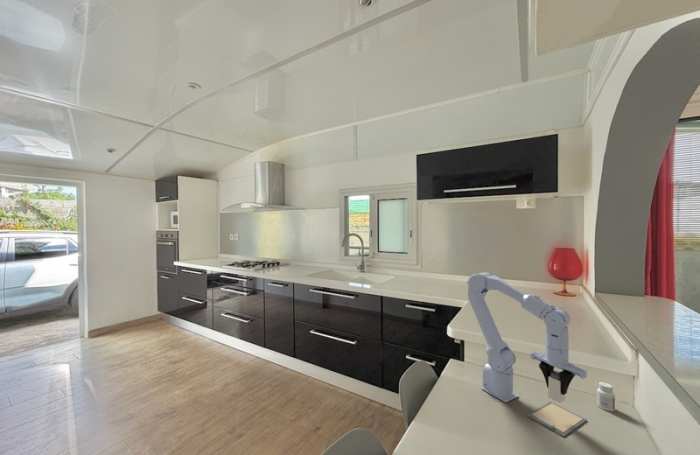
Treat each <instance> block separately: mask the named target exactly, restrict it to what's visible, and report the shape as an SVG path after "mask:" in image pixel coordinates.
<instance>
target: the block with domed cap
mask: <svg viewBox="0 0 700 455" xmlns="http://www.w3.org/2000/svg"><path fill="white" fill-rule="evenodd" d="M559 372H560V371H557V370H554V371H550V376H549V382H548V388H547V389H548V392H547V393H548V398H549V399H551V400H552V401H555V402H558V404H559V403H560V404H561V403H563V402H564V401H566V394H565V395H563V394H561V380H560V375H559Z"/></svg>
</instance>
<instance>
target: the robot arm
mask: <svg viewBox="0 0 700 455" xmlns="http://www.w3.org/2000/svg"><path fill="white" fill-rule="evenodd" d="M466 284H467V286H468V292H467V298H468V301H469V303H470V305H471V308H472V310H473V313H474V315H475V317H476V320H477V322H478V324H479V327H480V330H481V333H482V335H483V336H484V339H485V342H486V349H485V350H486V354H487V362H488V363H486V364H485V365H484V366H483V369H482V387H481V390H483V391H485V392H487V393H488V394H490V395H491V396H493V397H495V398H496V399H499V400H501V401H502V402H504V403H508V402H511V401H513V400H514V399H516V398H518V397H519V394H517V393H516V392H514V368H513V365H515V363H516V361H517V357H516V355H515V353H514V352H513V351H512V350H511V349H510V347H509V345H508V343H507V342H505V341H504V340H503V338H502V337H501V334H500V332H499V329H498V327H497V324H496V323H495V321H494V317H493V316H492V313H491V312H490V309H489V306H488V304H487V302H486V299H485V297H486V296H487V293H488V291H498V292H500V293H502V294H503V295H506V296H508V297H509V298H512V299H513V300H515V301H516V302H519V304H520V306H521V309H523V310H526V311H527V312H528V313H530V314H531V315H533V316H535V317H536V318H538V319H540V320H542V321H543V322H544V324H545V325H546V330H545V354H543V353H539V352H536V351H531V353H530V359H532V360H536V361H539V362H540V363H539V364H538V367H539V369H540V371H541V373H542V375H543V377H544V380H545V383H546V387H547V389H548V382H549V376H550V371H555V368H557V369H559V370H561V371H558V372H559V375H560V380H561V394H563V395H565V396H566V394H567V393H568V389H569V386H570V384H571V382H572V380H573V379H574V377H575V376H577V377H579V378H580V379H583V380H585V379H586V378H587V377H588V376H587V375H588V372H587V370H585V369H583V368H580V367H578V366H577V365H575V364H573V363H570V362H569V346H570V345H569V326H568V325H569V324H570V322H571V315H570V314H569V313H568V312H567V311H566V310H565V309H564V308H563V307H556V305H555V304H550V303H548V302H547V301H545V300H543V299H541V298H540V296H539V295H538V294H532V293H529V294H528V293H527V294H525V293H523V291H521V290H519V289H517V288H515V287H514V286H513V285H511V284H509V283H508V282H506V281H505V280H503V279H501V278H500V277H499V276H497V275H493V273H491V272H489V271H483V272H480V273H473V274H471V275H470V276H469V278H468V280H467V282H466Z"/></svg>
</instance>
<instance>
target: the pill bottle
mask: <svg viewBox="0 0 700 455" xmlns="http://www.w3.org/2000/svg"><path fill="white" fill-rule="evenodd" d="M613 391H614V388H613V385H611V384H610V383H607V382H603V381H600V382H598V388H597V389H596V406H598V408H600V409H602V410H604V411H608V412H614V411H615V409H616V408H615V406H616V404H615V402H616V399H615V397H616V396H615V393H614V392H613Z"/></svg>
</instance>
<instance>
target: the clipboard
mask: <svg viewBox="0 0 700 455" xmlns="http://www.w3.org/2000/svg"><path fill="white" fill-rule="evenodd" d="M526 417H528V418H529V419H531V420H532V421H535V422H536V423H538V424H539V425H541V426H543V427H544V428H546V429H548V430H550V431H552V432H554V433H555V434H557V435H559V436H561V437H563V438H565V437H567V435H569V434H570V433H572V432H574V431H575V430H576V429H578V428H579V427H580V426H582V425H583V424H585V423H586V422H587V421H588V419H587V418H584V417H582V416H580V415H578V414H576V413H574V412H572V411H570V410H568V409H566V408H564V407H562V406H560V405H558V404H556V403H554V402H552V401H550V402H548V403H546V404H543V405H542V406H540V407H539V408H537V409H535V410H534V411H531V412H530V413H527V414H526Z"/></svg>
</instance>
